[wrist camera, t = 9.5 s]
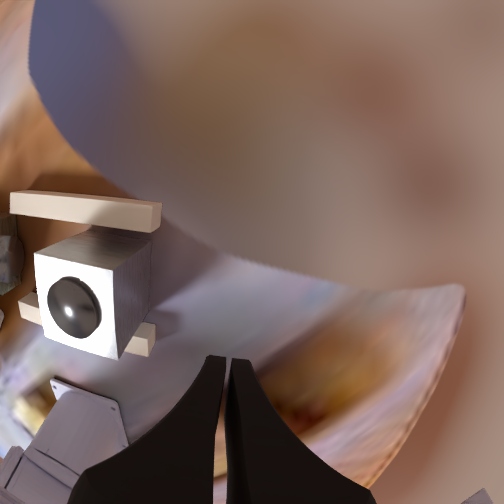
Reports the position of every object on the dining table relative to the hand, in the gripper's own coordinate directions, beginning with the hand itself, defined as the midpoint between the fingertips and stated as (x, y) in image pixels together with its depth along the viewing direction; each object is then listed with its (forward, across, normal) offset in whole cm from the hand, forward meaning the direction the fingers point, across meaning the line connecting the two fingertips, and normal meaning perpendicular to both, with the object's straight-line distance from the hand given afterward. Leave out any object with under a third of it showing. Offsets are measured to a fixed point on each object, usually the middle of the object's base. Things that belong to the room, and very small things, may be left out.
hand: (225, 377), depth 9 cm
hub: (+8, +8, 0) cm, 12 cm away
